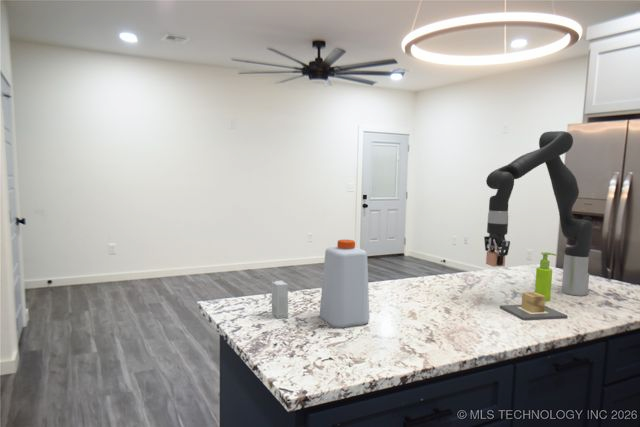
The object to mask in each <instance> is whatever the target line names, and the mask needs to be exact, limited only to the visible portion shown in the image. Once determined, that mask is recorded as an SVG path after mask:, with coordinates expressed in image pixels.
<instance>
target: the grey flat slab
mask: <svg viewBox="0 0 640 427" xmlns="http://www.w3.org/2000/svg"><path fill="white" fill-rule="evenodd" d="M521 305H522V304H502V305H499V308H500V309H501V310H503V311H505V312H507V313H508V314H510V313H511V314H510V315H512V314H513V316H514V315H515V316H514V317H516V316H517V318H519V319H521V320H522V321H538V320H540V321H541V320H557V319H558V320H559V319H560V320H561V319H568V315H567V314H565V313H562V312H560V311H558V310H556V309H553V308H551V307H550V306H546V305H545V308H544V312H537V313H531V312H529V311H526V310H524V309H522V308H521Z"/></svg>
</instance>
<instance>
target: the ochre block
mask: <svg viewBox="0 0 640 427" xmlns="http://www.w3.org/2000/svg"><path fill="white" fill-rule="evenodd" d="M520 305H521V308H522V309H524V310H526V311H529V312H531V313H537V312H544V308H545V306H546V301H545V296H543V295H541V294H538V293H536V292H535V291H534V292H532V291H531V292H522V293H521V304H520Z"/></svg>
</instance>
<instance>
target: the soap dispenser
mask: <svg viewBox="0 0 640 427" xmlns="http://www.w3.org/2000/svg"><path fill="white" fill-rule="evenodd" d="M540 254H541V255H542V259H540V262H539V263H540V264H539V267H536V268H535V270H536V271H535V283H534V284H535V285H534V292H536V293H538V294H541V295H543V296H545V302H550V301H551V295H552V294H551V293H552V281H553V280H552V278H553V269H552V268H550V260H548V257H549V256H557V254H556V253H553V252H544V251H543V252H541V253H540ZM548 255H549V256H548Z"/></svg>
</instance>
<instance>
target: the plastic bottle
mask: <svg viewBox="0 0 640 427" xmlns="http://www.w3.org/2000/svg"><path fill="white" fill-rule="evenodd" d="M324 252H325V253H324V263H323V272H322V273H323V275H322V282H321V283H322V285H321V297H320V306H319V307H320V308H319V316H320V318H321V319H322V320H324V321H325V322H326V323H328V324H329V325H330V326H332V327H334V328H347V327H348V328H349V327H355V326H362V325H365V324H366V325H367V323H369V322H370V297H369V296H370V294H369V271H368V270H369V268H368V267H369V266H368V252H367V251H366V250H364V249H362V248H359V247H356V241H355V240H352V239H339V240H337V246H332V247H331V246H329V247H328V248H326V249H325V251H324Z"/></svg>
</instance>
